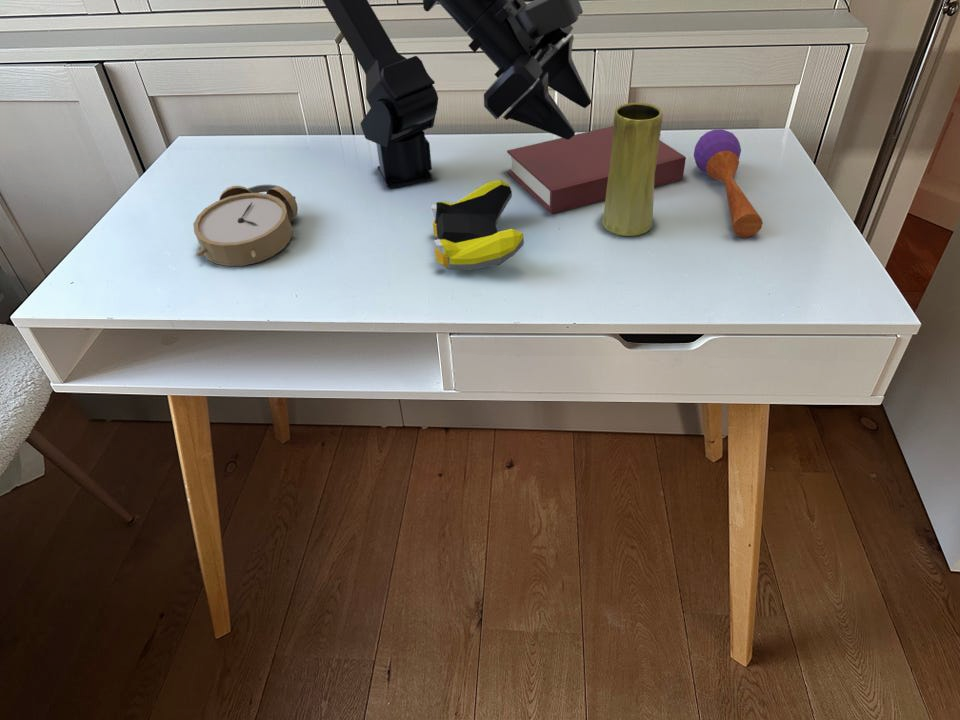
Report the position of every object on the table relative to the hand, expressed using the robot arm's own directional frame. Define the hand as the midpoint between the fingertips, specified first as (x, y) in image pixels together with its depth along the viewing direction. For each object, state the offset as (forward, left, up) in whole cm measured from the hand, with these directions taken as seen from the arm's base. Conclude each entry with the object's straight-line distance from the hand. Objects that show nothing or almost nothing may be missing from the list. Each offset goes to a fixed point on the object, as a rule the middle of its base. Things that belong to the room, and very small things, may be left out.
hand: (580, 120), depth 82 cm
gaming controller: (-14, -2, -13) cm, 19 cm away
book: (+7, +10, -13) cm, 18 cm away
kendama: (+20, -3, -13) cm, 24 cm away
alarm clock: (-39, +13, -13) cm, 43 cm away
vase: (+5, -4, -13) cm, 14 cm away
